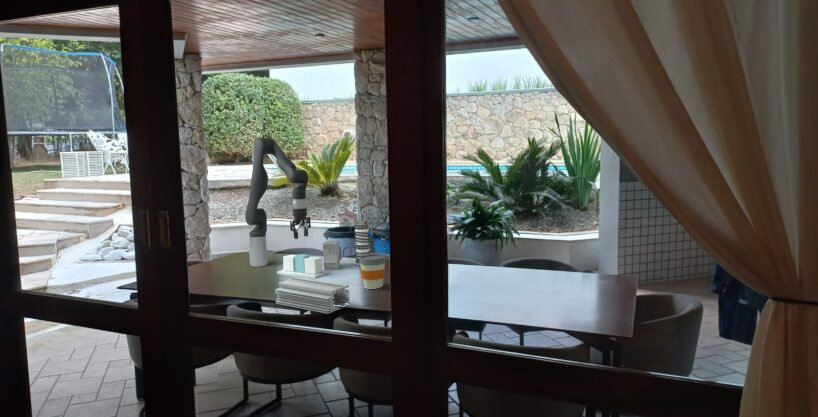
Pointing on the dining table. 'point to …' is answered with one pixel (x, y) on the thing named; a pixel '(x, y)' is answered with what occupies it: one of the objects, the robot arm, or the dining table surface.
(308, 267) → the rail panel
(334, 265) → the circuit breaker
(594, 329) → the dining table surface
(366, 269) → the reusable coffee cup
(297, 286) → the aluminum extrusion profile
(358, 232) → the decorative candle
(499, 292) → the dining table surface
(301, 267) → the block
